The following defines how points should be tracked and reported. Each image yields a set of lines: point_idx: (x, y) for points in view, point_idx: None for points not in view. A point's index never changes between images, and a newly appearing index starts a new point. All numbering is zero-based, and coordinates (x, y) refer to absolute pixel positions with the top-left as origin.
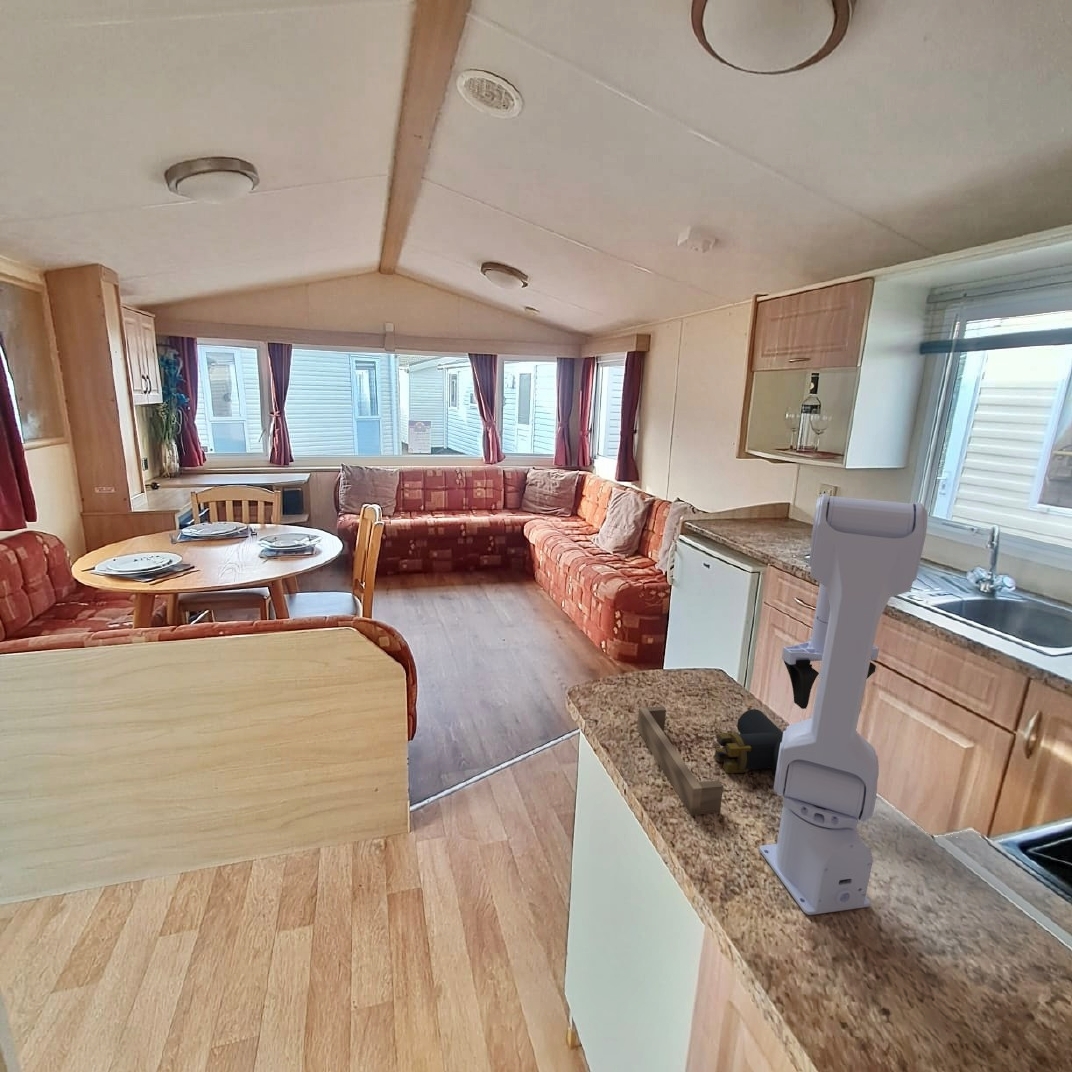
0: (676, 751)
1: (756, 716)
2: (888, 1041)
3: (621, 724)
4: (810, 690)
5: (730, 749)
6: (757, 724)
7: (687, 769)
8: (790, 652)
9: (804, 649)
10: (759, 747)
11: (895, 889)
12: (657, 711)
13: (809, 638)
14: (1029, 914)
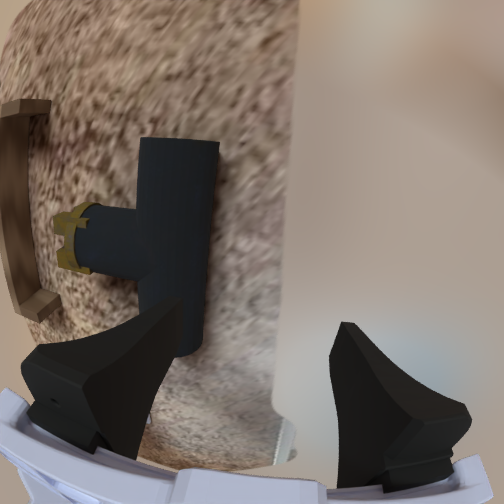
0: (4, 240)
1: (153, 173)
2: None
3: (15, 92)
4: (155, 393)
5: (59, 264)
6: (141, 200)
7: (11, 280)
8: (3, 454)
9: (56, 490)
10: (108, 273)
11: (185, 423)
12: (10, 115)
13: (169, 499)
14: (277, 455)
